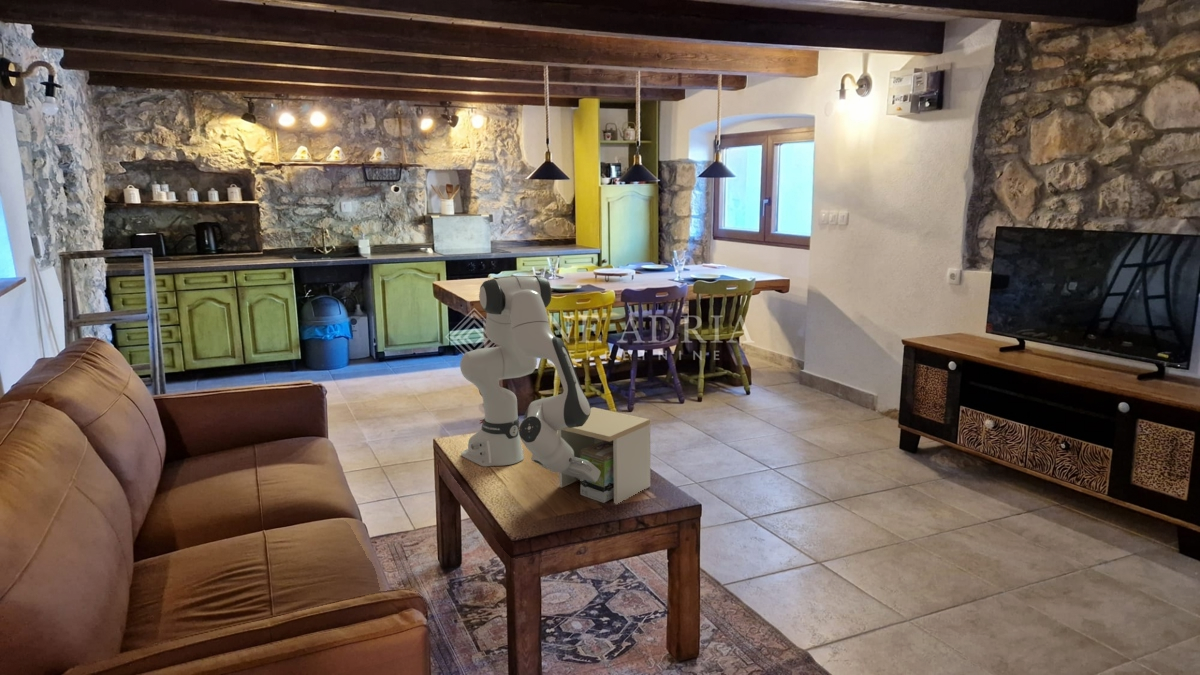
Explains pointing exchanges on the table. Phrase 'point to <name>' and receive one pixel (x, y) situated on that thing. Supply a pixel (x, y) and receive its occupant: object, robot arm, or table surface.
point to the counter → (615, 448)
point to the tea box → (603, 461)
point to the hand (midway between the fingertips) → (580, 478)
